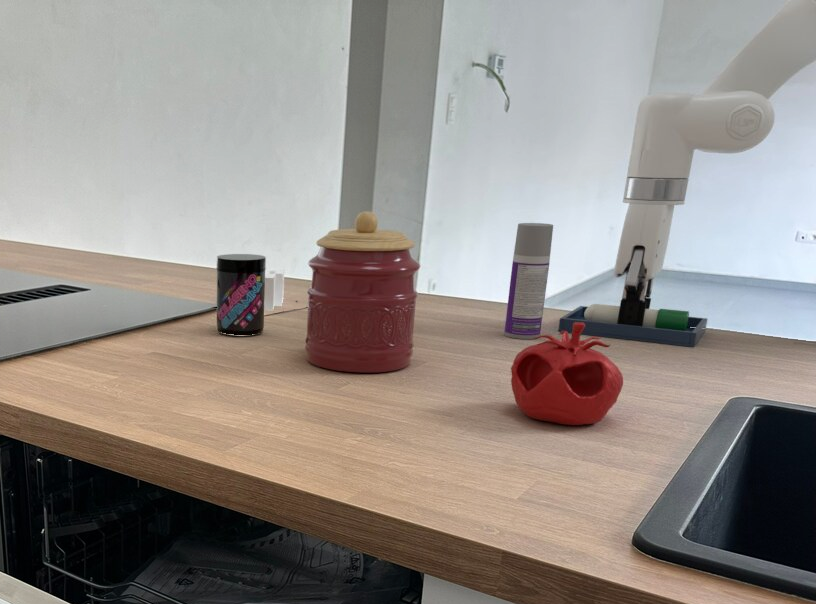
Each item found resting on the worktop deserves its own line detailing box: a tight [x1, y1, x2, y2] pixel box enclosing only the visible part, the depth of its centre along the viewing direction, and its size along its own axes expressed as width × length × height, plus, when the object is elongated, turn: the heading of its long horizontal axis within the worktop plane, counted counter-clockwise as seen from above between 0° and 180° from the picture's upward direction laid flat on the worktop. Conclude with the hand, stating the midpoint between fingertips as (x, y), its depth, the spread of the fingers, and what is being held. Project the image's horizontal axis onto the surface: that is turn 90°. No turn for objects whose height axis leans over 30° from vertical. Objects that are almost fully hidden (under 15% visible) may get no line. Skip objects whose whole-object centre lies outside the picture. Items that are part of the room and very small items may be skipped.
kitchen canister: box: [304, 210, 421, 374], centre depth 102 cm, size 13×13×18 cm
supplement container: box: [215, 253, 267, 335], centre depth 119 cm, size 7×7×10 cm
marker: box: [584, 303, 690, 331], centre depth 121 cm, size 13×3×3 cm, turn 55°
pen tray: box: [558, 305, 708, 348], centre depth 122 cm, size 17×12×2 cm
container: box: [504, 222, 554, 340], centre depth 117 cm, size 5×5×15 cm
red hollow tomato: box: [510, 322, 624, 426], centre depth 82 cm, size 10×10×9 cm
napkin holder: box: [264, 267, 285, 311], centre depth 139 cm, size 15×11×6 cm
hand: (631, 326), depth 122 cm, fingers closed on marker, 2 cm apart
